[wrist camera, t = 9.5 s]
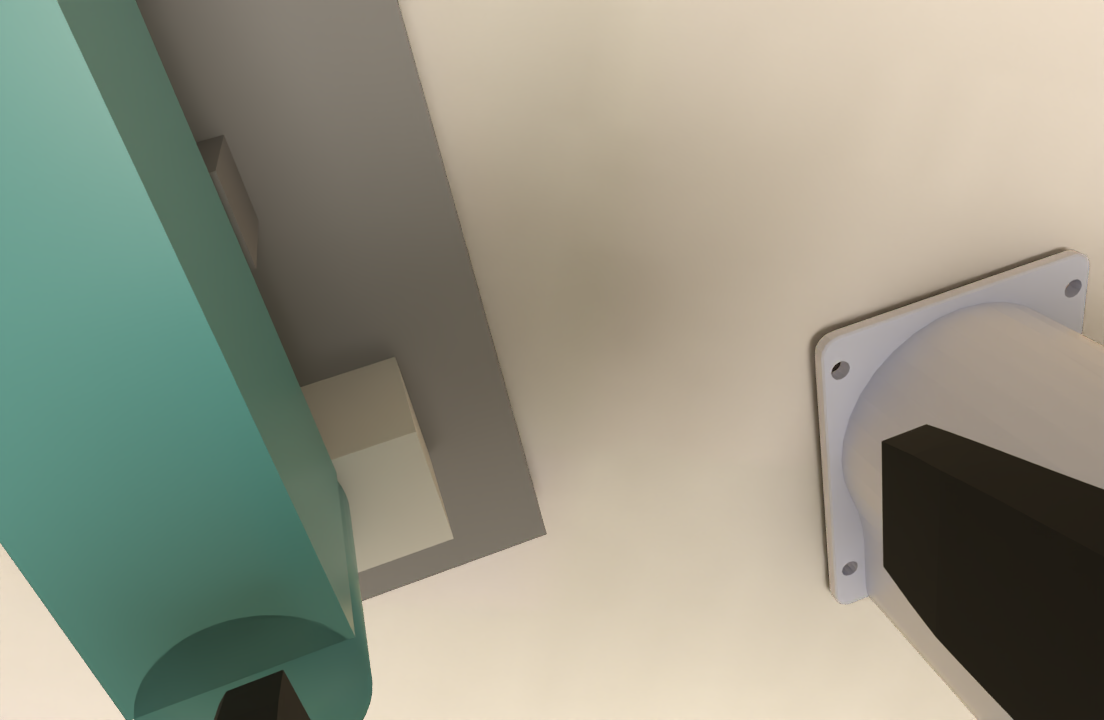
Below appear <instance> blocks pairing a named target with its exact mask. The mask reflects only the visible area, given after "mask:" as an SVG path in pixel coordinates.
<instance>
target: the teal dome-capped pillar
mask: <svg viewBox="0 0 1104 720" xmlns="http://www.w3.org/2000/svg"><path fill="white" fill-rule="evenodd" d="M0 543H1V544H2V546H3V547H4V549H5V550H6V551H7V553H8V554H9V556H10V557H11V559H12V560H13V561H14V563H15V564H16V566H17V567H18V568H19V570H20V571H21V573H22V574H23V575H24V577H25V578H26V580H27V581H28V582H29V584H30V585H31V587H32V588H33V589H34V591H35V592H36V594H37V595H38V597H39V598H40V599H41V601H42V602H43V604H44V605H45V606H46V608H47V609H48V611H49V612H50V613H51V615H52V616H53V618H54V619H55V620H56V622H57V623H58V625H59V626H60V628H61V629H62V630H63V632H64V633H65V635H66V636H67V637H68V639H69V640H70V642H71V643H72V644H73V646H74V647H75V649H76V650H77V651H78V653H79V654H80V656H81V657H82V659H83V660H84V661H85V663H86V664H87V666H88V667H89V668H90V670H91V671H92V673H93V674H94V675H95V677H96V678H97V680H98V681H99V682H100V684H101V685H102V687H103V688H104V690H105V691H106V692H107V694H108V695H109V697H110V698H111V699H112V701H113V702H114V704H115V705H116V706H117V708H118V709H119V711H120V712H121V713H122V715H123V716H124V718H125V719H126V720H133V719H134V720H214V718H215V715H216V712H217V709H218V706H219V703H220V701H221V699H222V698H223V696H224V694H225V692H226V691H228V690H231V689H234V688H236V687H239V686H241V685H244V684H247V683H249V682H252V681H255V680H257V679H260V678H262V677H265V676H268V675H270V674H273V673H275V672H278V671H281V670H284V672H285V674H286V675H287V677H288V679H289V681H290V683H291V685H292V686H293V688H294V690H295V692H296V694H297V696H298V698H299V699H300V701H301V703H302V705H303V707H304V709H305V710H306V712H307V714H308V716H309V718H310V720H363V719H364V717H365V715H366V713H367V710H368V707H369V705H370V701H371V696H372V676H371V668H370V661H369V653H368V645H367V638H366V630H365V622H364V615H363V607H362V599H361V592H360V584H359V576H358V568H357V561H356V553H355V545H354V538H353V530H352V522H351V515H350V508H349V502H348V499H347V496H346V494H345V492H344V490H343V488H342V486H341V485H340V483H339V482H338V481H337V473H336V470H335V468H334V465H333V463H332V461H331V458H330V456H329V454H328V451H327V449H326V447H325V444H324V442H323V440H322V437H321V435H320V433H319V430H318V428H317V426H316V423H315V421H314V418H313V416H312V414H311V411H310V409H309V407H308V404H307V402H306V400H305V397H304V395H303V393H302V390H301V388H300V386H299V383H298V381H297V379H296V376H295V374H294V372H293V369H292V367H291V364H290V362H289V360H288V357H287V355H286V353H285V350H284V348H283V346H282V343H281V341H280V339H279V336H278V334H277V332H276V329H275V327H274V325H273V322H272V320H271V318H270V315H269V313H268V310H267V308H266V306H265V303H264V301H263V299H262V296H261V294H260V292H259V289H258V287H257V285H256V282H255V280H254V278H253V275H252V273H251V271H250V268H249V266H248V264H247V261H246V259H245V257H244V254H243V252H242V249H241V247H240V245H239V242H238V240H237V238H236V235H235V233H234V231H233V228H232V226H231V224H230V221H229V219H228V217H227V214H226V212H225V210H224V207H223V205H222V203H221V200H220V198H219V195H218V193H217V191H216V188H215V186H214V184H213V181H212V179H211V177H210V174H209V172H208V170H207V167H206V165H205V163H204V160H203V158H202V156H201V153H200V151H199V149H198V146H197V144H196V141H195V139H194V137H193V134H192V132H191V130H190V127H189V125H188V123H187V120H186V118H185V116H184V113H183V111H182V109H181V106H180V104H179V102H178V99H177V97H176V95H175V92H174V90H173V87H172V85H171V83H170V80H169V78H168V76H167V73H166V71H165V69H164V66H163V64H162V62H161V59H160V57H159V55H158V52H157V50H156V48H155V45H154V43H153V41H152V38H151V36H150V33H149V31H148V29H147V26H146V24H145V22H144V19H143V17H142V15H141V12H140V10H139V8H138V5H137V3H136V1H135V0H0Z"/></svg>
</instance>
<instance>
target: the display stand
mask: <svg viewBox="0 0 1104 720" xmlns="http://www.w3.org/2000/svg"><path fill="white" fill-rule="evenodd" d="M135 1H136V3H137V5H138V8H139V10H140V12H141V15H142V17H143V19H144V22H145V24H146V26H147V29H148V31H149V33H150V36H151V38H152V41H153V43H154V45H155V48H156V50H157V52H158V55H159V57H160V59H161V62H162V64H163V66H164V69H165V71H166V73H167V76H168V78H169V80H170V83H171V85H172V87H173V90H174V92H175V95H176V97H177V99H178V102H179V104H180V106H181V109H182V111H183V113H184V116H185V118H186V120H187V123H188V125H189V127H190V130H191V132H192V134H193V137H194V139H195V141H196V144H197V146H198V149H199V151H200V153H201V156H202V158H203V160H204V163H205V165H206V167H207V170H208V172H209V174H210V177H211V179H212V181H213V184H214V186H215V188H216V191H217V193H218V195H219V198H220V200H221V203H222V205H223V207H224V210H225V212H226V214H227V217H228V219H229V221H230V224H231V226H232V228H233V231H234V233H235V235H236V238H237V240H238V242H239V245H240V247H241V249H242V252H243V254H244V257H245V259H246V261H247V264H248V266H249V268H250V271H251V273H252V275H253V278H254V280H255V282H256V285H257V287H258V289H259V292H260V294H261V296H262V299H263V301H264V303H265V306H266V308H267V310H268V313H269V315H270V318H271V320H272V322H273V325H274V327H275V329H276V332H277V334H278V336H279V339H280V341H281V343H282V346H283V348H284V350H285V353H286V355H287V357H288V360H289V362H290V364H291V367H292V369H293V372H294V374H295V376H296V379H297V381H298V383H299V386H300V388H301V390H302V393H303V395H304V397H305V400H306V402H307V404H308V407H309V409H310V411H311V414H312V416H313V418H314V421H315V423H316V426H317V428H318V430H319V433H320V435H321V437H322V440H323V442H324V444H325V447H326V449H327V451H328V454H329V456H330V458H331V461H332V463H333V465H334V468H335V470H336V473H337V481H338V482H339V483H340V485H341V486H342V488H343V490H344V492H345V494H346V496H347V499H348V502H349V508H350V515H351V522H352V530H353V538H354V545H355V553H356V561H357V568H358V576H359V584H360V592H361V599H362V601H364V600H366V599H369V598H372V597H375V596H377V595H380V594H383V593H386V592H388V591H391V590H394V589H397V588H399V587H402V586H405V585H408V584H410V583H413V582H416V581H419V580H422V579H424V578H427V577H430V576H433V575H435V574H438V573H441V572H444V571H446V570H449V569H452V568H455V567H457V566H460V565H463V564H466V563H468V562H471V561H474V560H477V559H479V558H482V557H485V556H488V555H490V554H493V553H496V552H499V551H501V550H504V549H507V548H510V547H512V546H515V545H518V544H521V543H523V542H526V541H529V540H532V539H534V538H537V537H540V536H543V535H545V534H546V530H545V526H544V523H543V519H542V516H541V512H540V508H539V505H538V501H537V498H536V494H535V491H534V487H533V483H532V480H531V476H530V473H529V469H528V466H527V462H526V458H525V455H524V451H523V448H522V444H521V440H520V437H519V433H518V430H517V426H516V423H515V419H514V415H513V412H512V408H511V405H510V401H509V398H508V394H507V390H506V387H505V383H504V380H503V376H502V372H501V369H500V365H499V362H498V358H497V355H496V351H495V347H494V344H493V340H492V337H491V333H490V330H489V326H488V322H487V319H486V315H485V312H484V308H483V304H482V301H481V297H480V294H479V290H478V287H477V283H476V279H475V276H474V272H473V269H472V265H471V262H470V258H469V254H468V251H467V247H466V244H465V240H464V236H463V233H462V229H461V226H460V222H459V219H458V215H457V211H456V208H455V204H454V201H453V197H452V194H451V190H450V186H449V183H448V179H447V176H446V172H445V168H444V165H443V161H442V158H441V154H440V151H439V147H438V143H437V140H436V136H435V133H434V129H433V126H432V122H431V118H430V115H429V111H428V108H427V104H426V100H425V97H424V93H423V90H422V86H421V83H420V79H419V75H418V72H417V68H416V65H415V61H414V58H413V54H412V50H411V47H410V43H409V40H408V36H407V32H406V29H405V25H404V22H403V18H402V15H401V11H400V7H399V4H398V0H135Z"/></svg>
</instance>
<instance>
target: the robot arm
mask: <svg viewBox="0 0 1104 720" xmlns="http://www.w3.org/2000/svg"><path fill="white" fill-rule="evenodd" d="M1088 275H1089V259H1088V257H1087V256H1086V255H1084V254H1082V253H1079V252H1077V251H1074V250H1066V251H1063V252H1060V253H1058V254H1055V255H1052V256H1049V257H1046V258H1043V259H1040V260H1037V261H1034V262H1031V263H1028V264H1026V265H1023V266H1020V267H1017V268H1014V269H1011V270H1008V271H1005V272H1002V273H999V274H997V275H994V276H991V277H988V278H985V279H982V280H979V281H976V282H973V283H970V284H968V285H965V286H962V287H959V288H956V289H953V290H950V291H947V292H944V293H941V294H939V295H936V296H933V297H930V298H927V299H924V300H921V301H918V302H915V303H912V304H910V305H907V306H904V307H901V308H898V309H895V310H892V311H889V312H886V313H883V314H880V315H878V316H875V317H872V318H869V319H866V320H863V321H860V322H857V323H854V324H851V325H849V326H846V327H843V328H840V329H837V330H834V331H831V332H829V333H828V334H826V335H824V336H823V337H822V338H821V339H820V340H819V342H818V344H817V346H816V349H815V366H816V382H817V397H818V413H819V428H820V444H821V459H822V475H823V490H824V506H825V521H826V537H827V552H828V567H829V583H830V592H831V595H832V596H833V597H834V598H835V600H836V601H837V602H839V603H840V604H850V603H853V602H855V601H858V600H860V599H863V598H866V597H868V596H869V597H870V598H871V599H872V601H873V602H874V603H875V604H876V605H877V606H878V607H879V609H880V610H881V611H882V612H883V613H884V614H885V615H886V617H887V618H888V619H889V620H890V621H891V622H892V623H893V624H894V626H895V627H896V628H897V629H898V630H899V631H900V632H901V634H902V635H903V636H904V637H905V638H906V639H907V640H908V642H909V643H910V644H911V645H912V646H913V647H914V648H915V649H916V651H917V652H918V653H919V654H920V655H921V656H922V657H923V659H924V660H925V661H926V662H927V663H928V664H929V665H930V667H931V668H932V669H933V670H934V671H935V672H936V673H937V675H938V676H939V677H940V678H941V679H942V680H943V681H944V682H945V684H946V685H947V686H948V687H949V688H950V689H951V690H952V692H953V693H954V694H955V695H956V696H957V697H958V698H959V700H960V701H961V702H962V703H963V704H964V705H965V706H966V707H967V709H968V710H969V711H970V712H971V713H972V714H973V715H974V717H975V718H976V719H977V720H1104V346H1103V345H1101V344H1099V343H1097V342H1095V341H1093V340H1091V339H1089V338H1087V337H1085V336H1083V335H1082V328H1083V319H1084V310H1085V301H1086V292H1087V284H1088ZM1068 284H1069V285H1068ZM1067 285H1068V286H1067ZM1066 286H1067V288H1066ZM839 362H841V364H840V366H839V368H838V369H837V370H836V371H834V372H832V369H833V367H834V366H835V365H836V364H837V363H839ZM831 372H832V373H831ZM214 720H310V718H309V716H308V714H307V712H306V710H305V709H304V707H303V705H302V703H301V701H300V699H299V698H298V696H297V694H296V692H295V690H294V688H293V686H292V685H291V683H290V681H289V679H288V677H287V675H286V674H285V672H284V670H281V671H278V672H275V673H273V674H270V675H268V676H265V677H262V678H260V679H257V680H255V681H252V682H249V683H247V684H244V685H241V686H239V687H236V688H234V689H231V690H228V691H226V692H225V694H224V696H223V698H222V699H221V701H220V703H219V706H218V709H217V712H216V715H215V718H214Z"/></svg>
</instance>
